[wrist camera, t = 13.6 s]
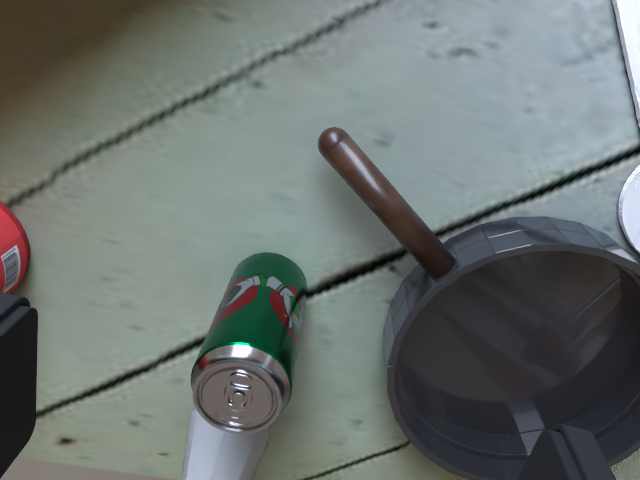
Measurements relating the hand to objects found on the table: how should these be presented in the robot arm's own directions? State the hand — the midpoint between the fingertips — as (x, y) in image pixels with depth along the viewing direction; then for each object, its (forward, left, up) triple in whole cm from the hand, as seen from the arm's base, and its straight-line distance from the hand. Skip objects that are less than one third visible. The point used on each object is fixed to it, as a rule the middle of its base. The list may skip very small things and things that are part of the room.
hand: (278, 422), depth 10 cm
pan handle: (0, +5, -23) cm, 24 cm away
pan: (0, +19, -25) cm, 32 cm away
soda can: (+10, +5, -26) cm, 28 cm away
